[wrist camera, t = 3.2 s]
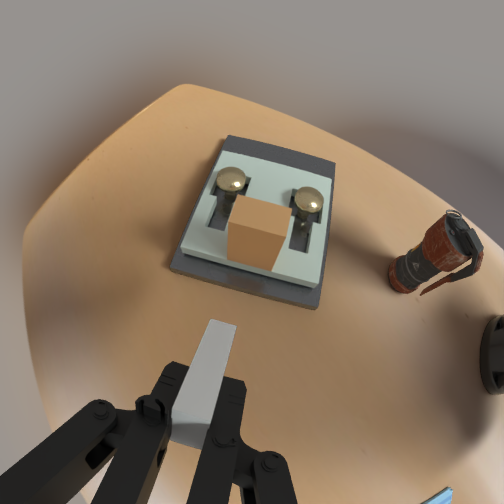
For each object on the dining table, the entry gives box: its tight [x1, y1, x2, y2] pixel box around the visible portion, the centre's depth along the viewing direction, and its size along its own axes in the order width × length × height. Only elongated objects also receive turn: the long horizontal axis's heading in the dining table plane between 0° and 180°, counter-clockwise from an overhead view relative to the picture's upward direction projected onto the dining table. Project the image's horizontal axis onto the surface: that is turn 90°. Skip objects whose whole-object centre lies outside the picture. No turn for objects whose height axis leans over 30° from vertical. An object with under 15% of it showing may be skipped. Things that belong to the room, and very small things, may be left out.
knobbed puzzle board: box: [181, 151, 332, 288], centre depth 30 cm, size 16×16×10 cm
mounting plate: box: [170, 135, 335, 310], centre depth 35 cm, size 18×24×5 cm
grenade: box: [389, 210, 484, 296], centre depth 28 cm, size 6×8×15 cm
